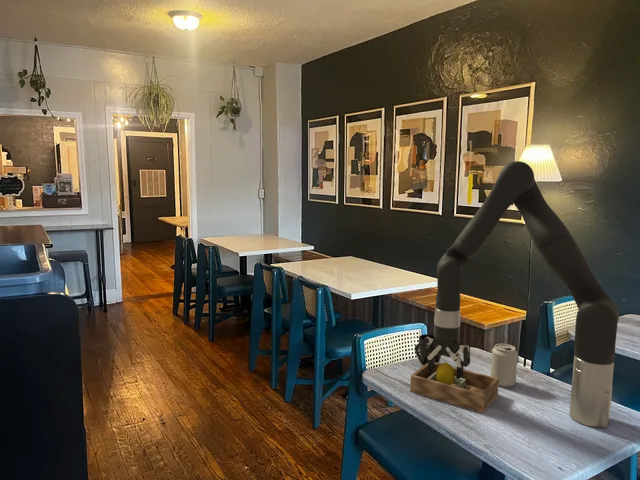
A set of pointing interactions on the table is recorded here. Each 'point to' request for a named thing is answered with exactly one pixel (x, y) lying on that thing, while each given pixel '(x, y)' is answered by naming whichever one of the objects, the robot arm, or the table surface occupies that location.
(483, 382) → the caddy
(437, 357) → the mug
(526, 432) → the table surface
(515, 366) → the can
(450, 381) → the lemon
